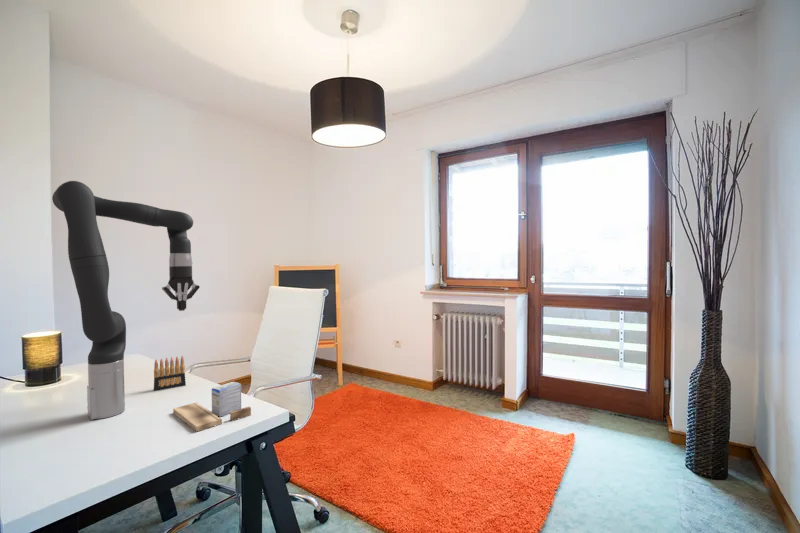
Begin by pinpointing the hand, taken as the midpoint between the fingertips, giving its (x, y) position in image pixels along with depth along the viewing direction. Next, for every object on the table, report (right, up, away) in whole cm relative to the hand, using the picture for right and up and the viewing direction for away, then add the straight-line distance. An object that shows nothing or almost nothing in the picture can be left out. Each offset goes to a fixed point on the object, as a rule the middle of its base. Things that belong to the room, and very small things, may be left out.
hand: (181, 310), depth 143 cm
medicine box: (+27, -31, -21) cm, 46 cm away
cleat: (+34, -31, -26) cm, 52 cm away
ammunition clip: (-7, -31, +5) cm, 33 cm away
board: (+20, -31, -26) cm, 45 cm away
